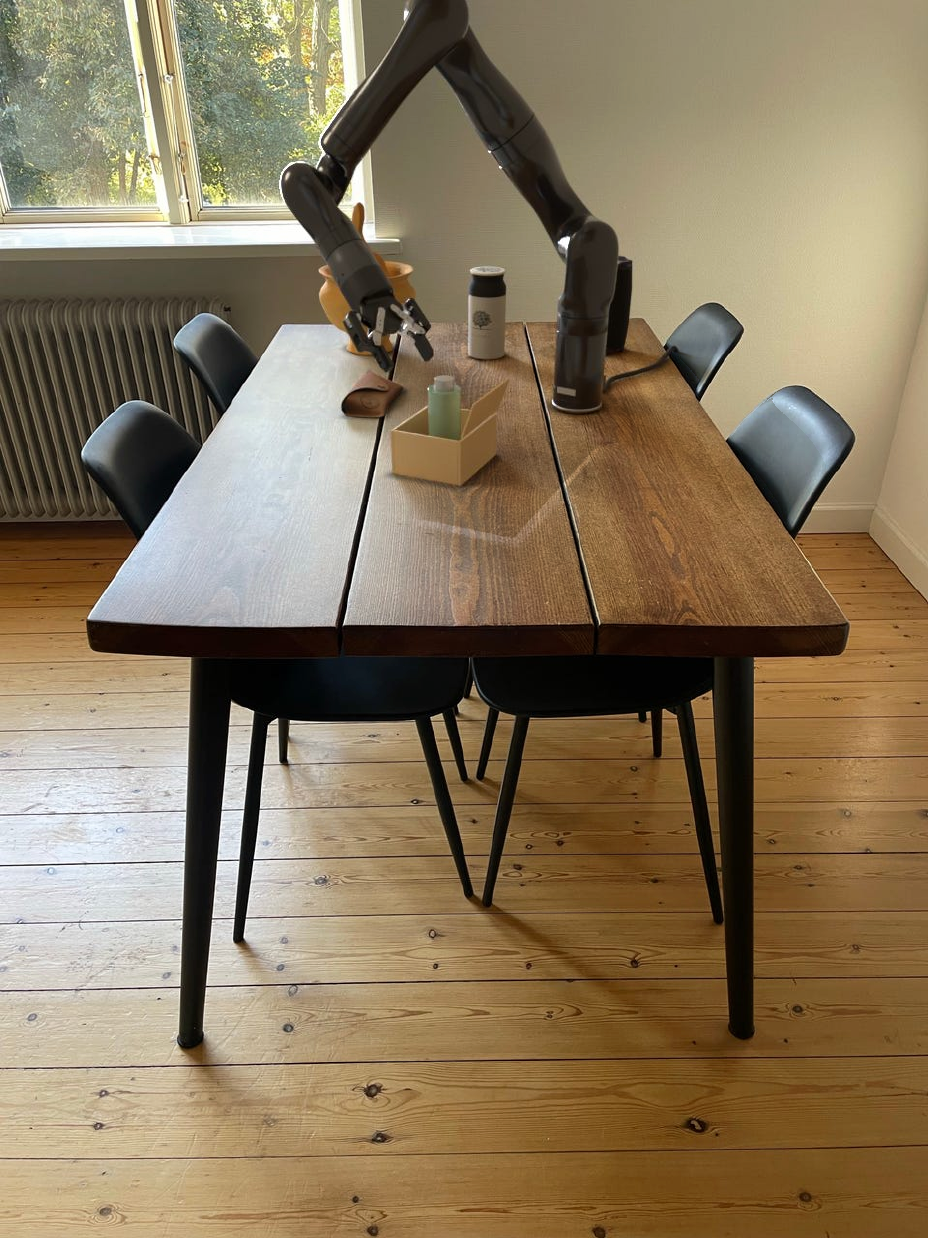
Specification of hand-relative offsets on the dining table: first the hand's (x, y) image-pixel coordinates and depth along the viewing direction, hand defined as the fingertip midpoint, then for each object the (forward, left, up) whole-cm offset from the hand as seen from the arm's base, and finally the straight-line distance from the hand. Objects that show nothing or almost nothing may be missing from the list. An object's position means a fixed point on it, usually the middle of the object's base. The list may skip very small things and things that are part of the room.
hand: (410, 363), depth 146 cm
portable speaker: (-73, +11, -15) cm, 76 cm away
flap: (+3, +14, -4) cm, 15 cm away
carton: (+3, +7, -15) cm, 17 cm away
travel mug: (-58, -12, -15) cm, 61 cm away
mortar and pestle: (-52, -38, -15) cm, 66 cm away
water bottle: (+3, +7, -15) cm, 17 cm away
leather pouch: (-20, -19, -15) cm, 32 cm away
